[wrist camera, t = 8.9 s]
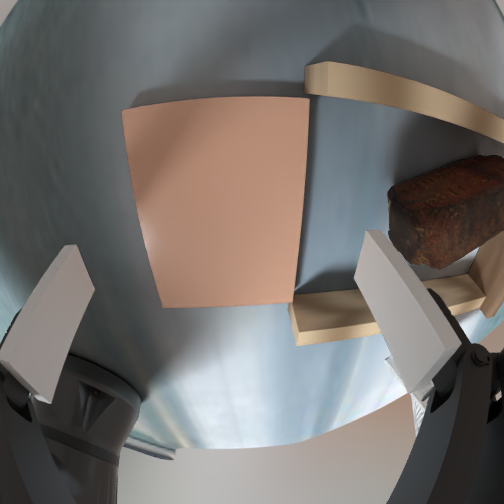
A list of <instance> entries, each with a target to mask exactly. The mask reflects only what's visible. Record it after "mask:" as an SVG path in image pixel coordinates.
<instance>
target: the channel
mask: <svg viewBox="0 0 504 504" xmlns="http://www.w3.org/2000/svg"><path fill="white" fill-rule="evenodd" d="M304 93H307V94H315V95H323V96H330V97H339V98H346V99H353V100H359V101H365V102H371V103H377V104H382V105H387V106H391V107H396V108H400V109H405V110H409V111H413V112H417V113H420V114H424V115H427V116H431V117H434V118H438V119H441V120H444V121H447V122H450V123H453V124H456V125H459V126H462V127H465V128H467V129H470V130H473V131H475V132H478V133H480V134H483V135H485V136H488V137H490V138H492V139H495V140H497V141H499V142H501V143H503V144H504V120H503V119H501V118H499V117H498V116H496V115H494V114H492V113H490V112H488V111H486V110H484V109H482V108H480V107H478V106H476V105H474V104H472V103H470V102H468V101H466V100H463V99H461V98H459V97H457V96H454V95H452V94H449V93H447V92H444V91H442V90H439V89H436V88H434V87H431V86H428V85H425V84H422V83H419V82H416V81H413V80H410V79H407V78H404V77H400V76H397V75H393V74H389V73H385V72H381V71H377V70H373V69H369V68H364V67H359V66H354V65H349V64H343V63H337V62H331V61H326V62H322V63H317V64H312V65H308V66H305V86H304ZM421 282H422V284H423V285H424V286H425V288H426V289H428V288H431V289H432V290H433V291H435V292H436V293H437V294H438V295H439V296H440V297H441V298H442V300H443V301H444V303H445V304H446V307H448V308H449V310H450V311H451V314H452V315H453V316H455V315H459V314H462V313H465V312H469V311H472V310H475V309H478V308H480V310H481V311H482V313H483V314H484V315H485V317H486V318H490V317H493V316H495V314H496V312H497V311H498V309H499V308H500V306H501V305H502V303H503V301H504V231H502V232H500V233H499V234H498V235H496V236H495V237H493V238H491V239H490V240H488V241H486V243H485V244H483V245H482V246H480V248H479V250H478V252H477V255H476V257H475V259H474V262H473V264H472V266H471V268H470V270H469V272H468V274H464V275H458V276H452V277H446V278H439V279H432V280H425V281H421ZM288 312H289V316H290V320H291V325H292V329H293V333H294V338H295V342H296V346H300V345H309V344H317V343H324V342H332V341H339V340H345V339H351V338H358V337H363V336H369V335H374V334H380V333H381V331H380V329H379V327H378V325H377V322H376V320H375V318H374V316H373V314H372V312H371V310H370V308H369V306H368V304H367V302H366V300H365V298H364V297H363V295H362V293H361V291H360V289H352V290H342V291H332V292H321V293H309V294H296V295H293V302H289V304H288Z"/></svg>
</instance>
